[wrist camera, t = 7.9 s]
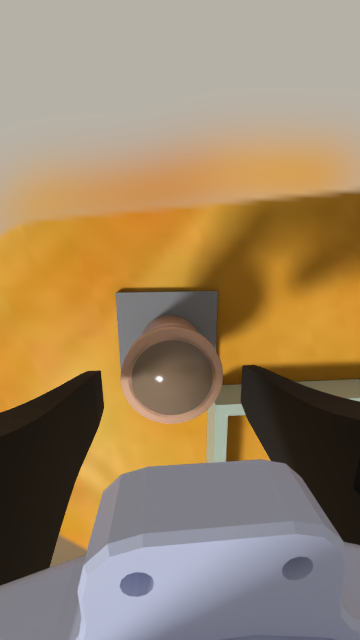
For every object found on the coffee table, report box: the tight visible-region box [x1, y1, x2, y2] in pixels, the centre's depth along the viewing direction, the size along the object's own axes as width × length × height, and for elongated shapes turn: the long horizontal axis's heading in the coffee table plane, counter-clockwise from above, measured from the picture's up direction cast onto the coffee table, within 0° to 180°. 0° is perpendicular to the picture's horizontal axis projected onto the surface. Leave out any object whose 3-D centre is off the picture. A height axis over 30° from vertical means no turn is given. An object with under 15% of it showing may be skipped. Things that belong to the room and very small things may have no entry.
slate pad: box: [116, 291, 218, 370], centre depth 19 cm, size 8×8×1 cm
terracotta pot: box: [121, 315, 223, 424], centre depth 16 cm, size 6×6×6 cm
